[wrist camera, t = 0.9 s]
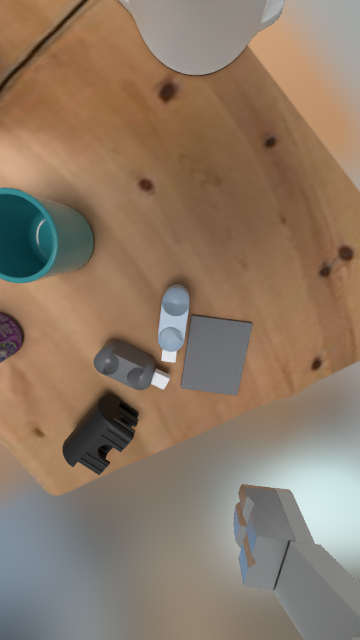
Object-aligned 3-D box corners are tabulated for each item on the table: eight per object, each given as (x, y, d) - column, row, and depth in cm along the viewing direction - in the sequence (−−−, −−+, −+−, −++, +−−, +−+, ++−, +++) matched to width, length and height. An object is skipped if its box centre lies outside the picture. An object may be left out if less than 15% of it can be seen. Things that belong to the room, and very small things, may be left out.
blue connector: (166, 282, 38) (163, 287, 33) (190, 285, 38) (191, 291, 33) (158, 351, 41) (154, 365, 36) (180, 354, 41) (180, 369, 36)
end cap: (107, 386, 43) (93, 411, 37) (141, 411, 44) (134, 439, 38) (73, 426, 45) (54, 457, 39) (107, 448, 47) (94, 482, 40)
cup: (33, 173, 35) (-36, 141, 24) (108, 235, 37) (75, 231, 26) (0, 229, 37) (-78, 223, 26) (72, 285, 39) (28, 301, 28)
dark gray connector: (101, 353, 42) (89, 368, 37) (109, 334, 41) (99, 347, 36) (163, 383, 43) (160, 400, 38) (173, 365, 42) (171, 381, 37)
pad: (191, 314, 39) (191, 315, 39) (251, 322, 40) (252, 323, 39) (180, 386, 43) (180, 388, 42) (236, 393, 43) (236, 395, 42)
